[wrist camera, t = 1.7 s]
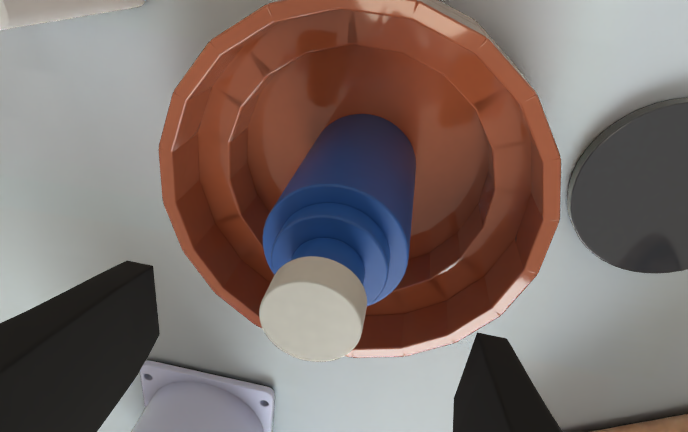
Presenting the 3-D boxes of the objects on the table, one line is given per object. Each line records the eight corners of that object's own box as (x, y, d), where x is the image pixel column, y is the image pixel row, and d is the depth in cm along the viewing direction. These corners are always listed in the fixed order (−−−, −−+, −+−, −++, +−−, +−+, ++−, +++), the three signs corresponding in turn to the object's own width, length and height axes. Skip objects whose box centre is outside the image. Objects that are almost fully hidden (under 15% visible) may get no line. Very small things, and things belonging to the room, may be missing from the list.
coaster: (715, 280, 19) (723, 288, 19) (542, 247, 20) (545, 255, 19) (821, 114, 16) (835, 120, 15) (608, 81, 16) (613, 85, 16)
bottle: (405, 219, 20) (385, 405, 12) (307, 201, 20) (221, 369, 12) (425, 123, 18) (419, 267, 9) (317, 105, 18) (220, 228, 10)
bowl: (481, 311, 22) (492, 388, 18) (215, 258, 23) (171, 319, 19) (586, 13, 16) (637, 32, 12) (210, -42, 17) (142, -41, 13)
